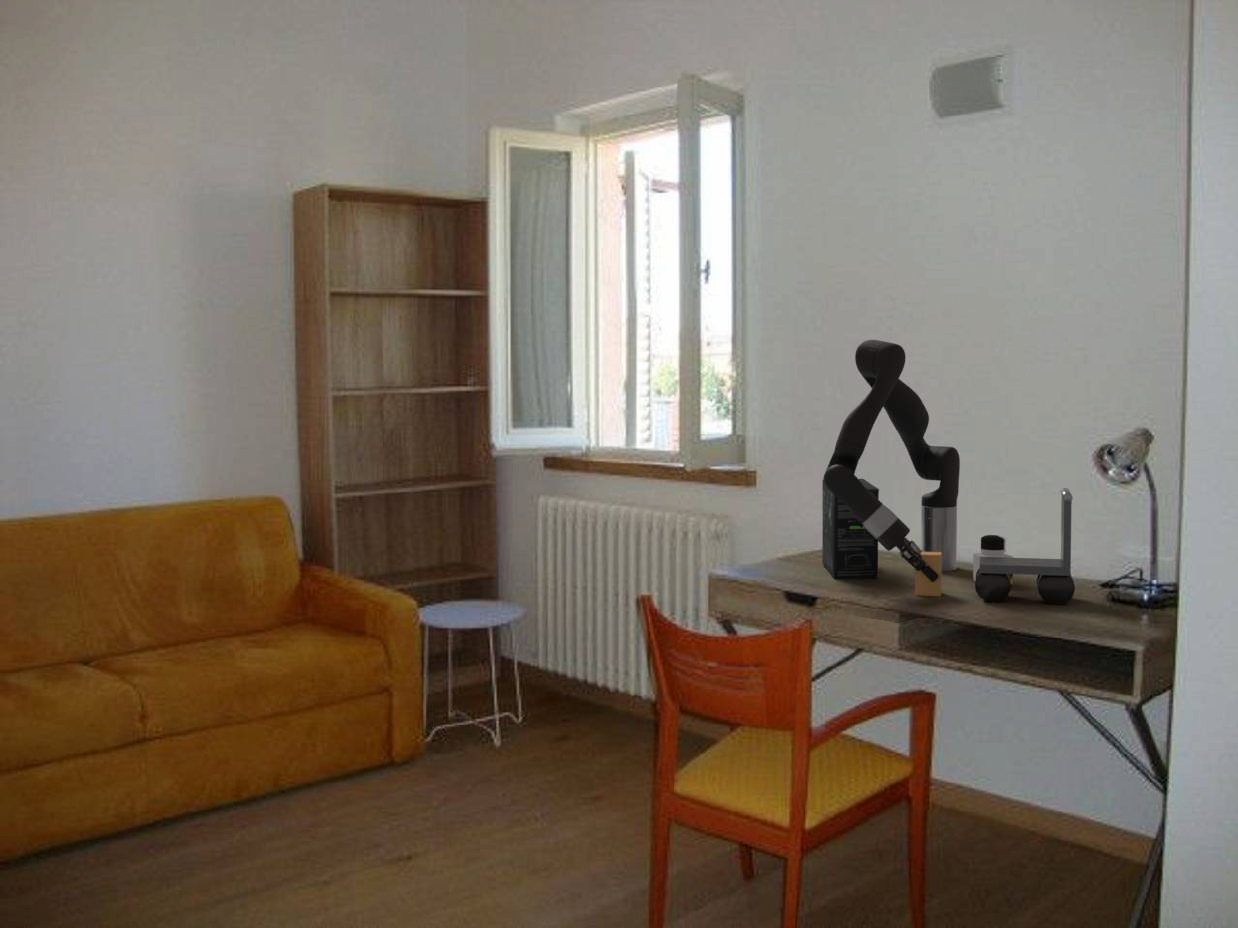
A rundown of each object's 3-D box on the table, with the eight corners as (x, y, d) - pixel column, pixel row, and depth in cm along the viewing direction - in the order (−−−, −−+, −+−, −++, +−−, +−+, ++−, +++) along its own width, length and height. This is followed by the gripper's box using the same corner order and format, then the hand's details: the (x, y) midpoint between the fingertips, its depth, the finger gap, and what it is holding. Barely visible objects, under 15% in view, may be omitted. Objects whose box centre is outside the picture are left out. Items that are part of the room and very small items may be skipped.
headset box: (879, 578, 320) (879, 480, 317) (833, 579, 320) (833, 481, 318) (864, 564, 342) (864, 471, 340) (821, 564, 342) (820, 472, 340)
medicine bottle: (988, 586, 307) (988, 538, 306) (972, 581, 314) (973, 534, 313) (1013, 584, 309) (1013, 536, 308) (997, 579, 316) (997, 533, 315)
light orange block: (916, 591, 302) (916, 551, 301) (941, 592, 300) (941, 552, 299) (915, 595, 298) (915, 554, 297) (940, 596, 296) (940, 555, 295)
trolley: (975, 592, 299) (976, 486, 297) (1071, 596, 293) (1073, 487, 290) (974, 602, 288) (975, 492, 285) (1074, 606, 281) (1076, 493, 279)
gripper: (894, 520, 293) (947, 572, 290) (899, 512, 306) (949, 562, 304) (872, 542, 295) (923, 593, 292) (877, 533, 308) (927, 582, 306)
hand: (936, 577), depth 298 cm, fingers closed on light orange block, 4 cm apart
